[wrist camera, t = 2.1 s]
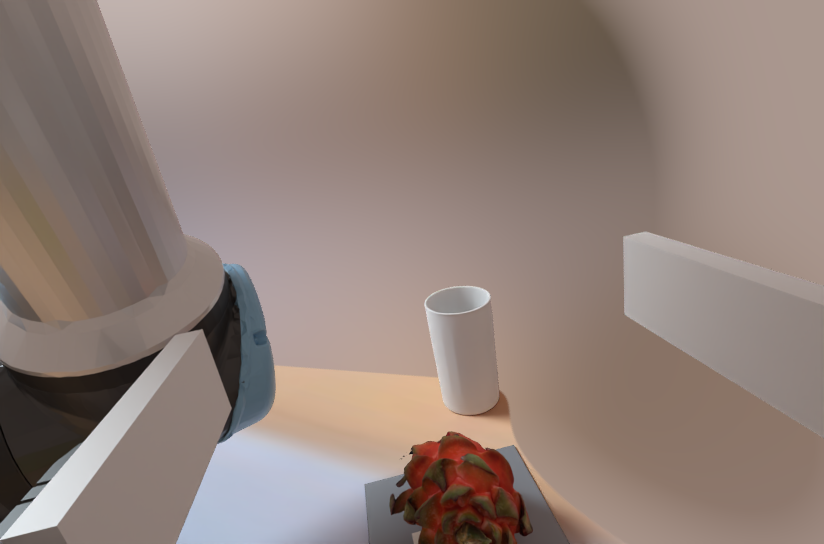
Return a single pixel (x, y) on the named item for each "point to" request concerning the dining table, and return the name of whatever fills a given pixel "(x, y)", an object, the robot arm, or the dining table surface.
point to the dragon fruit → (461, 494)
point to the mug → (464, 348)
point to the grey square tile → (399, 540)
